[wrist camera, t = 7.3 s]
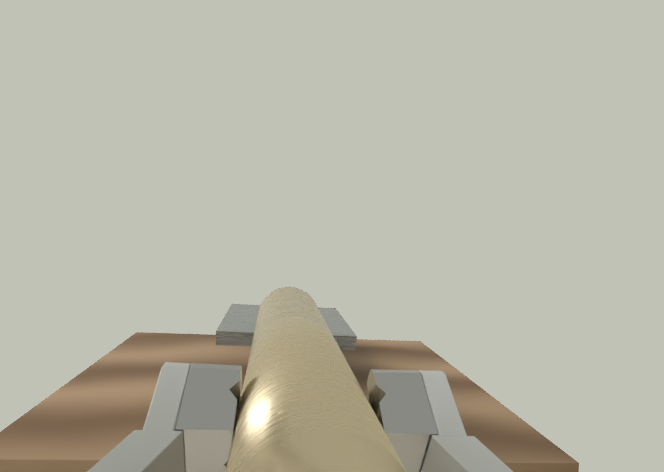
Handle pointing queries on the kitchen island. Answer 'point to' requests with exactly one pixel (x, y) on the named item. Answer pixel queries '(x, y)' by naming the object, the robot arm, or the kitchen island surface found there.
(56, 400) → the lidded wooden box
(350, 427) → the brass handle with plate
